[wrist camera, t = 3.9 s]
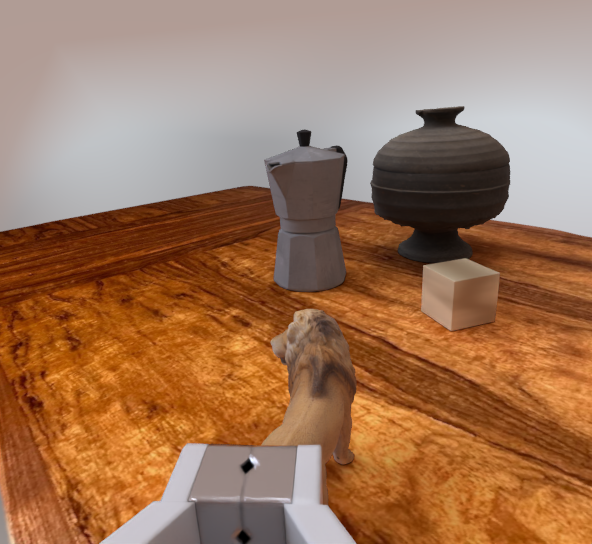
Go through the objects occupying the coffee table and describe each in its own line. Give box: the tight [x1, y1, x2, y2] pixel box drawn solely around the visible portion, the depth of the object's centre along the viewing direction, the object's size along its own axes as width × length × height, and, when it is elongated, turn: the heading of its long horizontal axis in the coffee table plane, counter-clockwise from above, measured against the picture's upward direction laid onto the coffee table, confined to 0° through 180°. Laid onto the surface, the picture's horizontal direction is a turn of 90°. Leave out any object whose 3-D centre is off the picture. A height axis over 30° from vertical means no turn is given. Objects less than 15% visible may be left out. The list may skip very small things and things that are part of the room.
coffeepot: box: [264, 130, 347, 292], centre depth 56 cm, size 15×9×18 cm, turn 144°
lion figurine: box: [262, 309, 356, 505], centre depth 24 cm, size 15×5×9 cm, turn 174°
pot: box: [370, 106, 510, 263], centre depth 62 cm, size 18×18×20 cm
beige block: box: [421, 258, 500, 331], centre depth 45 cm, size 5×5×5 cm
